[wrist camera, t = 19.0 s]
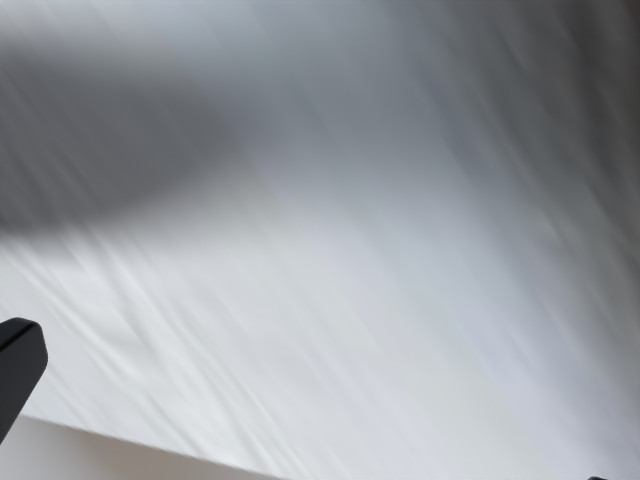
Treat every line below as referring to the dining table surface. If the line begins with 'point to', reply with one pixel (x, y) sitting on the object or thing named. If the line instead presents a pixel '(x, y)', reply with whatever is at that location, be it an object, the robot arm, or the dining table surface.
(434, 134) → the dining table surface
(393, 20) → the dining table surface
